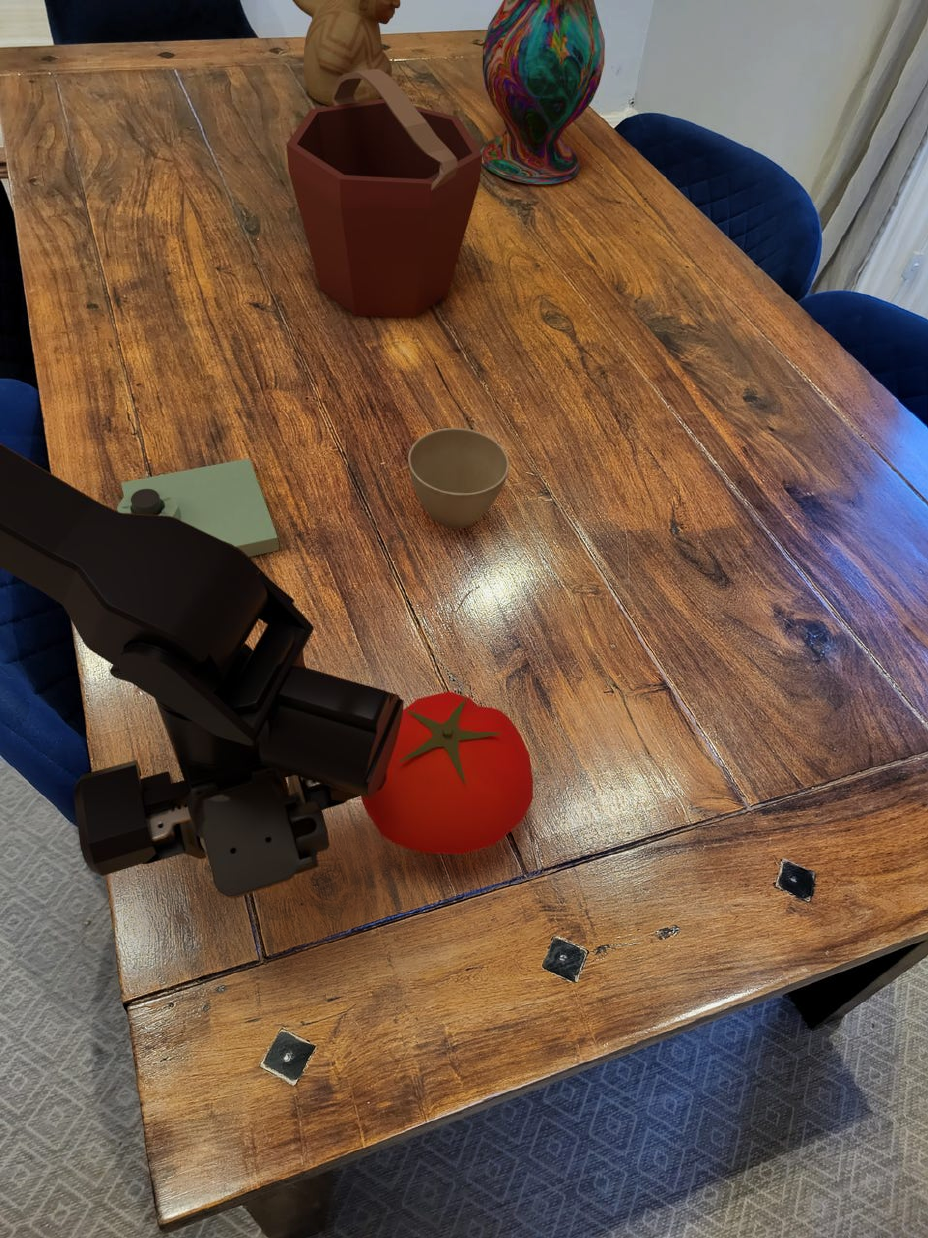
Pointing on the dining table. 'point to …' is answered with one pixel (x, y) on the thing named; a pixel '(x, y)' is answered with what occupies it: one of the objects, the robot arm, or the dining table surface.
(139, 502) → the button
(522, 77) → the vase
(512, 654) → the dining table surface
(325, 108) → the bucket
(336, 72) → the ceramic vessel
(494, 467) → the brown cup
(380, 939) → the dining table surface
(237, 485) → the scale
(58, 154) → the dining table surface
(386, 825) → the tomato
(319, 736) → the robot arm
